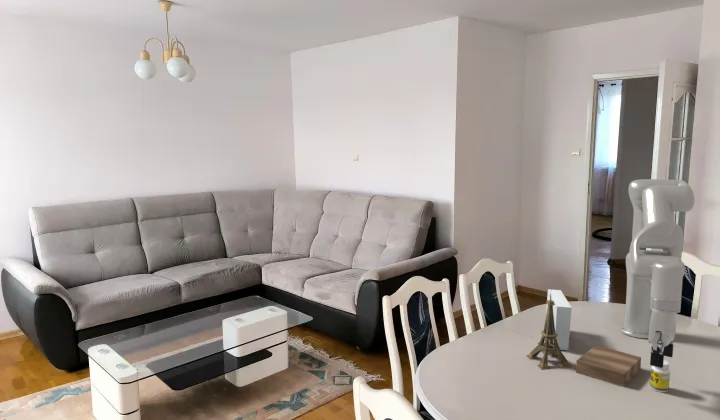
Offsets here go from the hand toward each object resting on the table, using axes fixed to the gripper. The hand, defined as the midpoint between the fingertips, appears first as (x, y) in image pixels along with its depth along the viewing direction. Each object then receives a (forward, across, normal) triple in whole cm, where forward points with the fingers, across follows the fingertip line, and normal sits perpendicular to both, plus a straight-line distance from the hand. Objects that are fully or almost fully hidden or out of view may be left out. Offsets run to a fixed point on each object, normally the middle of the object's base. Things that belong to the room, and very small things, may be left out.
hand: (661, 360), depth 150 cm
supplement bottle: (+9, 0, 0) cm, 9 cm away
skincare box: (+9, -16, -38) cm, 42 cm away
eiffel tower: (+9, +4, -32) cm, 34 cm away
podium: (+9, -2, -15) cm, 18 cm away
